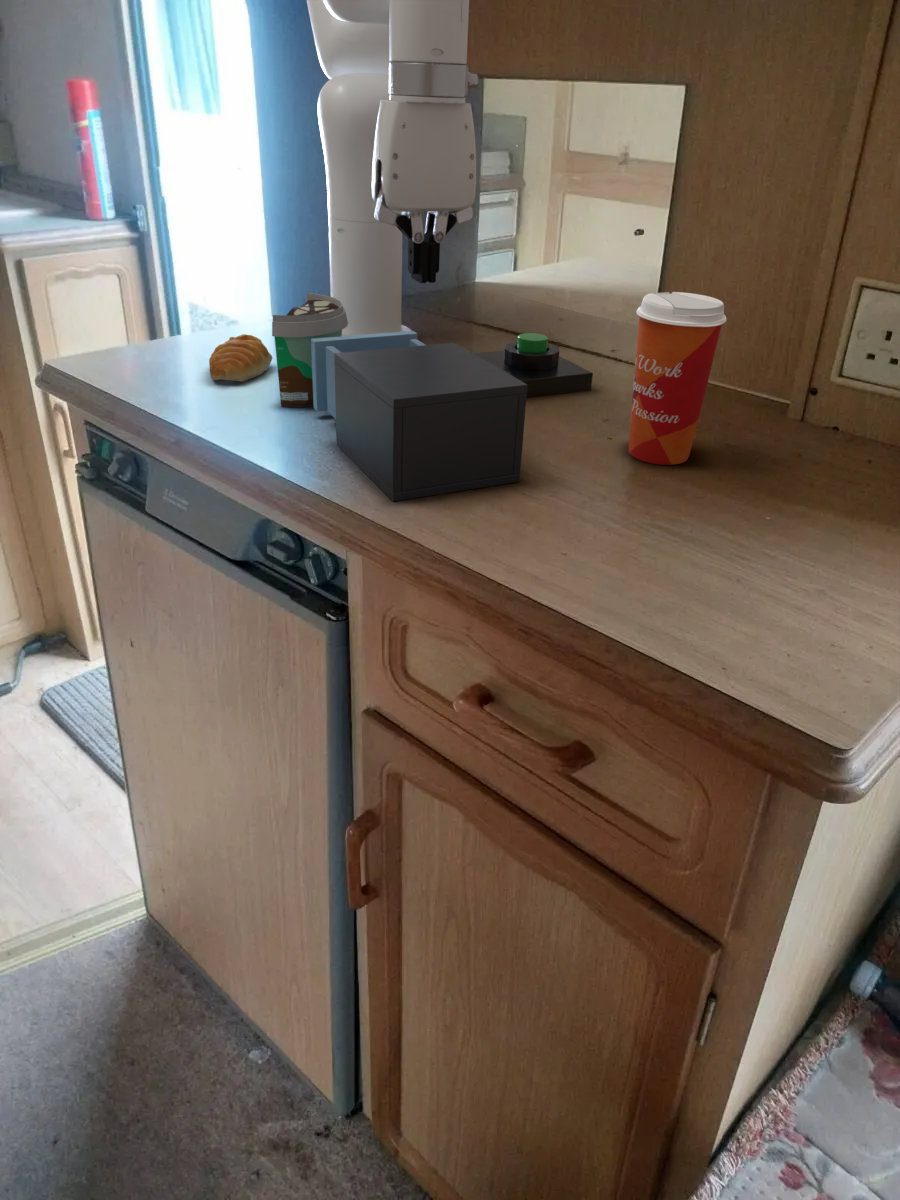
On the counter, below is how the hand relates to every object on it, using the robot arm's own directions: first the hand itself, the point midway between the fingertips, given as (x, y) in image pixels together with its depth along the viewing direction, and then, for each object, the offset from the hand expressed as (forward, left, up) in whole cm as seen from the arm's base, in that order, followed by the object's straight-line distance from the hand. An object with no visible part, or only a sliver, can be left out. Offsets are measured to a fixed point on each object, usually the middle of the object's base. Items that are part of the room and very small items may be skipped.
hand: (423, 280), depth 98 cm
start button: (-1, +15, -9) cm, 18 cm away
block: (-1, +15, -13) cm, 20 cm away
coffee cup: (+25, +15, -13) cm, 32 cm away
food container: (-3, -11, -13) cm, 17 cm away
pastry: (-15, -17, -13) cm, 26 cm away
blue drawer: (+7, -8, -12) cm, 16 cm away
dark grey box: (+19, -8, -13) cm, 24 cm away
